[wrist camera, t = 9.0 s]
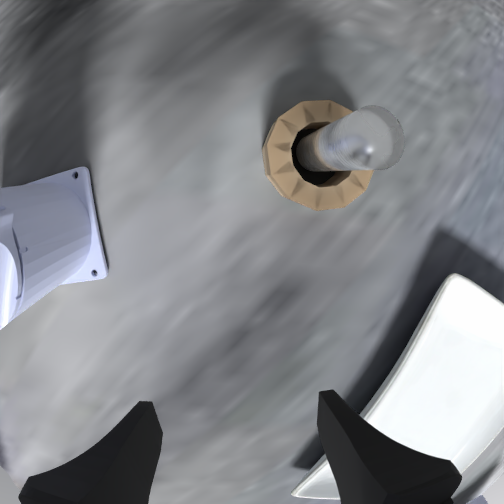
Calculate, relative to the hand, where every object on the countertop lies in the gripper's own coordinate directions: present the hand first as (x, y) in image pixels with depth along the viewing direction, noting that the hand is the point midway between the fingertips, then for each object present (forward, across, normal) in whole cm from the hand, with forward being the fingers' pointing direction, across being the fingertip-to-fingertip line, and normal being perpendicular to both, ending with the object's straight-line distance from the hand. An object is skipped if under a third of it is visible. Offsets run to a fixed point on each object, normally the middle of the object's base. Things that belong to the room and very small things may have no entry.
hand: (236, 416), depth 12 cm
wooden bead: (+10, -6, -11) cm, 16 cm away
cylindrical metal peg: (+10, -6, -11) cm, 16 cm away
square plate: (+12, -22, +15) cm, 29 cm away
